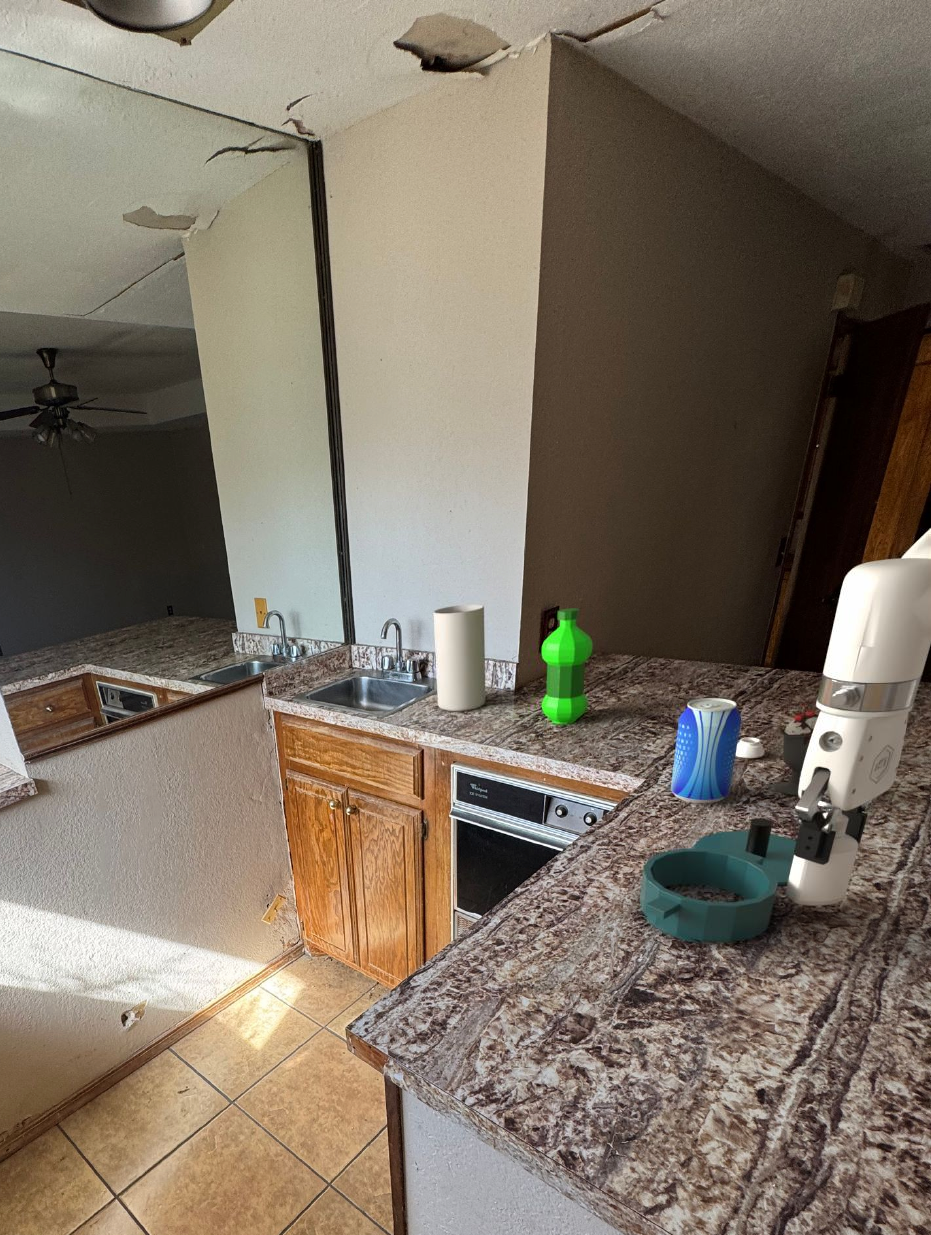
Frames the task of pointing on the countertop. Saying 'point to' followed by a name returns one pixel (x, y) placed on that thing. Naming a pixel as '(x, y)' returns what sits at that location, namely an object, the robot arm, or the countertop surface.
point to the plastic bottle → (566, 669)
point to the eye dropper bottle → (824, 871)
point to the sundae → (796, 748)
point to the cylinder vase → (460, 657)
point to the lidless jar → (749, 748)
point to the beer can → (705, 750)
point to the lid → (756, 847)
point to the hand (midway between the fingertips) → (826, 849)
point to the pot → (702, 916)
